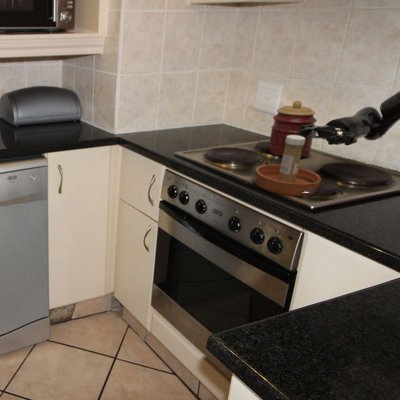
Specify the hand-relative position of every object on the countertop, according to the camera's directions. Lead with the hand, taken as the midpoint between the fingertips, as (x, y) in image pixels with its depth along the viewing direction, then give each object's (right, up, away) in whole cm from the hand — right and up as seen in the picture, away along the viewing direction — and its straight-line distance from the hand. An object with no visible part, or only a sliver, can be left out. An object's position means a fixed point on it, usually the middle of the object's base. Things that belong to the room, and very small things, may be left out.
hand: (314, 137), depth 134 cm
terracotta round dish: (-8, -14, 0) cm, 16 cm away
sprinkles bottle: (-8, -13, 0) cm, 16 cm away
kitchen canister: (+7, -2, +28) cm, 29 cm away
